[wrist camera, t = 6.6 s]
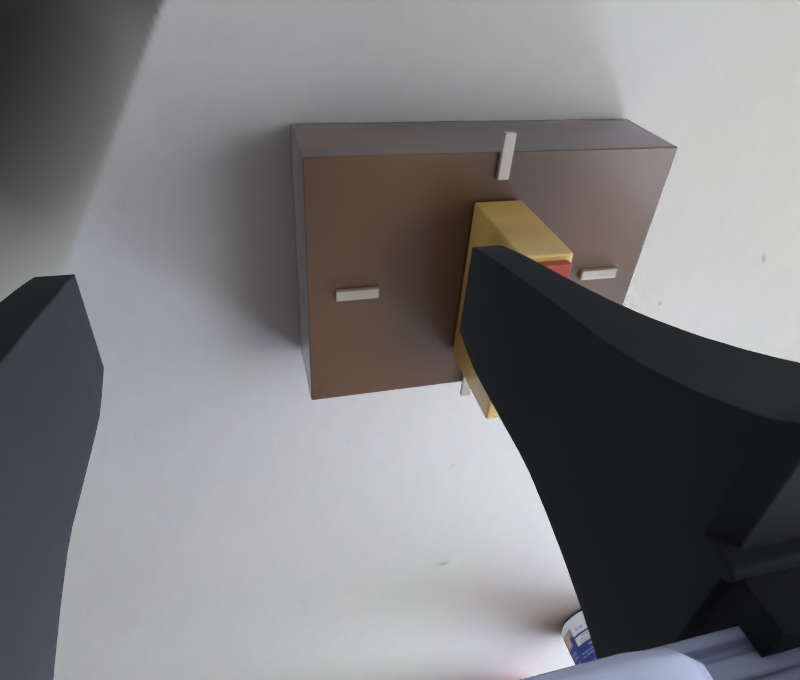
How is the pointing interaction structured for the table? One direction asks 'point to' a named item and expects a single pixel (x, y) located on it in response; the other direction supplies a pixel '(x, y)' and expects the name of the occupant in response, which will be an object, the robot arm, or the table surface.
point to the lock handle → (521, 234)
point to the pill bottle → (578, 639)
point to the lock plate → (448, 230)
